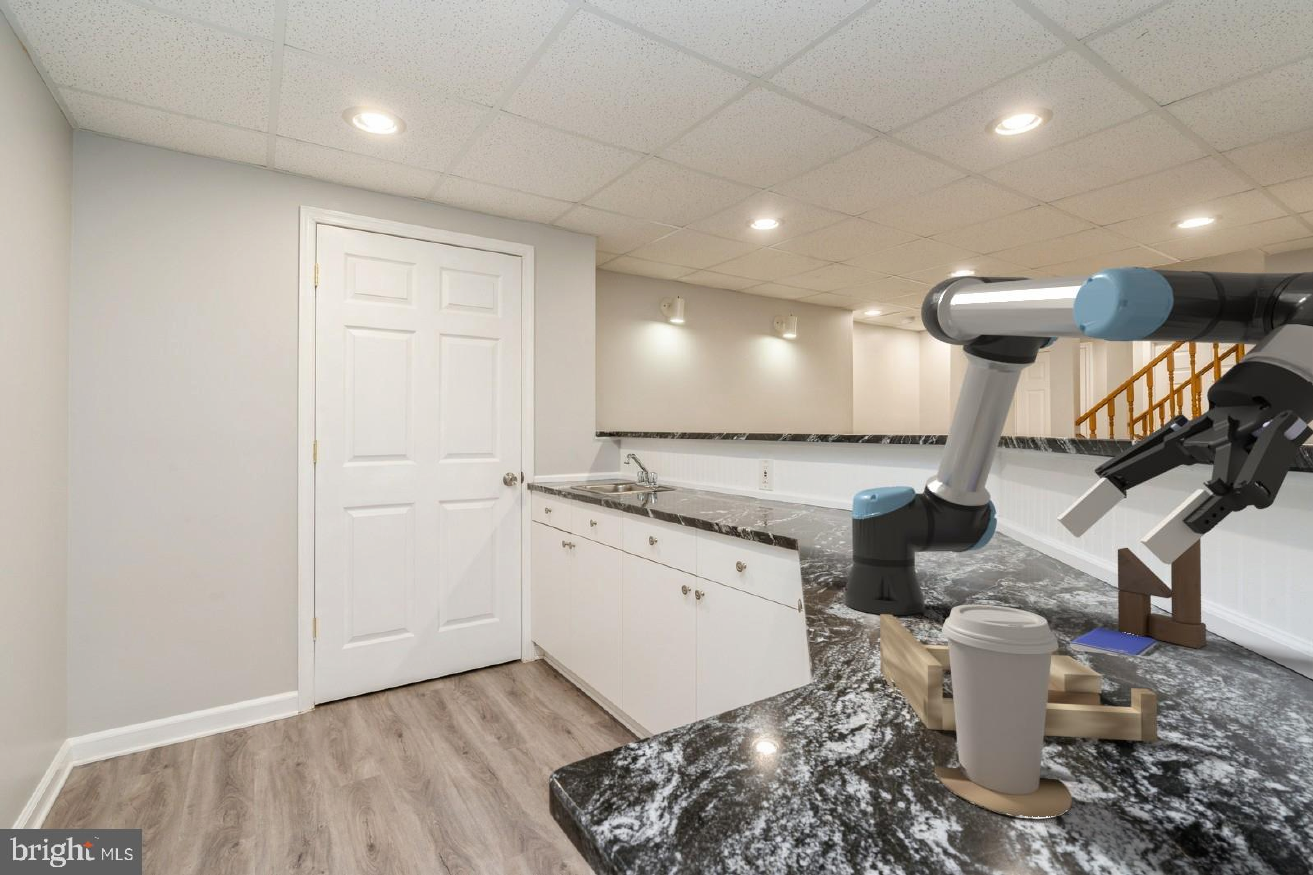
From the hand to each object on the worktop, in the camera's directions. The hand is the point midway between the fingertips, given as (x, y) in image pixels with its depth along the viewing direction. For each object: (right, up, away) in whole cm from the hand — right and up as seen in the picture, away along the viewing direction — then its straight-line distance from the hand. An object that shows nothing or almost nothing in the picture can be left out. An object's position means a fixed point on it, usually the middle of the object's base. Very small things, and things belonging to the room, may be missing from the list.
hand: (1105, 539), depth 59 cm
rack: (-3, -23, +14) cm, 27 cm away
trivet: (-12, -22, -3) cm, 25 cm away
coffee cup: (-12, -22, -2) cm, 25 cm away
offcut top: (+5, -19, +13) cm, 24 cm away
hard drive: (+29, -24, +37) cm, 52 cm away
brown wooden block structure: (+39, -23, +41) cm, 61 cm away
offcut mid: (+5, -21, +13) cm, 26 cm away
